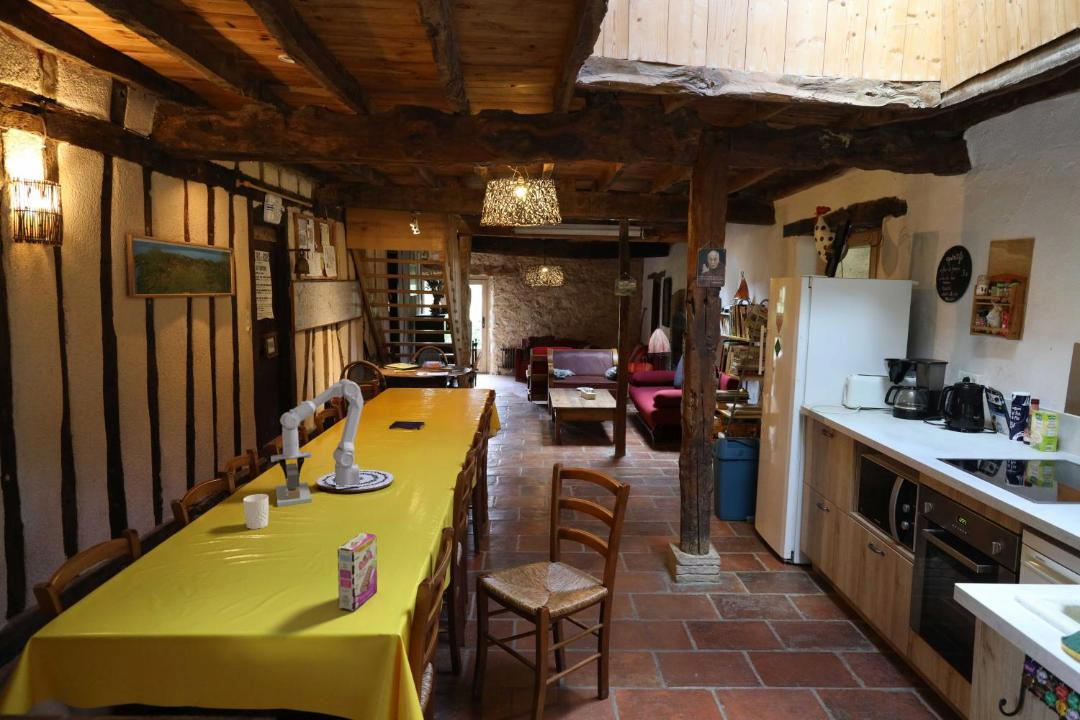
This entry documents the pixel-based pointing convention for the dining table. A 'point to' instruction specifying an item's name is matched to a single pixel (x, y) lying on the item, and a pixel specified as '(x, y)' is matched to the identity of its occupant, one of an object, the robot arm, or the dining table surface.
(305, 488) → the display stand
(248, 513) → the white cup
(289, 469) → the gray rectangular block
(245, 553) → the dining table surface
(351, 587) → the candy bar box
